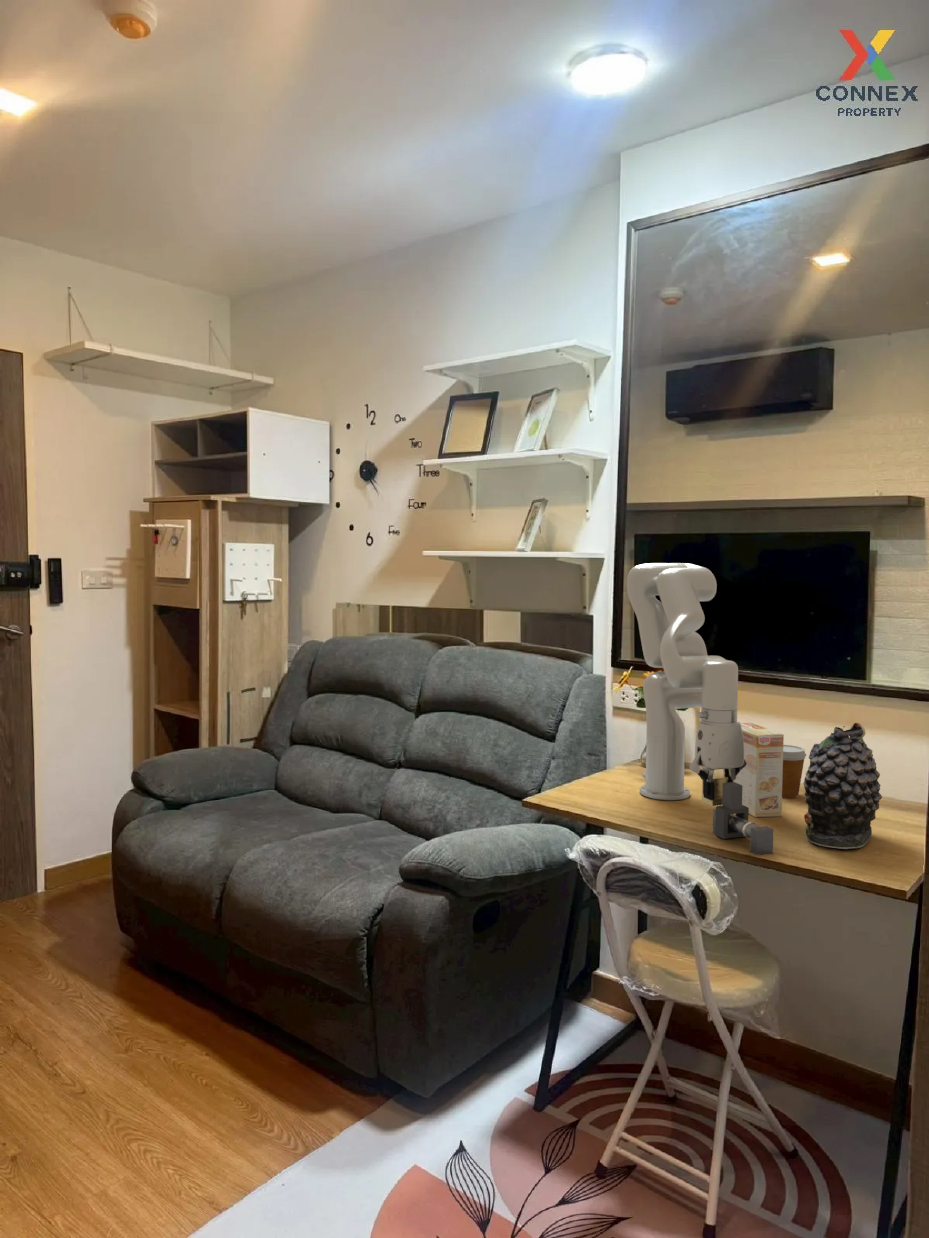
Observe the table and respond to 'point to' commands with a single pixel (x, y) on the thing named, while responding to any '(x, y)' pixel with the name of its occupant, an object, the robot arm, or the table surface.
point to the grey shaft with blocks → (751, 833)
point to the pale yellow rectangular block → (716, 790)
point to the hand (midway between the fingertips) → (717, 796)
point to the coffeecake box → (762, 771)
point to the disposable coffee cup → (792, 770)
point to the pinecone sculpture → (841, 790)
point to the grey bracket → (730, 810)
